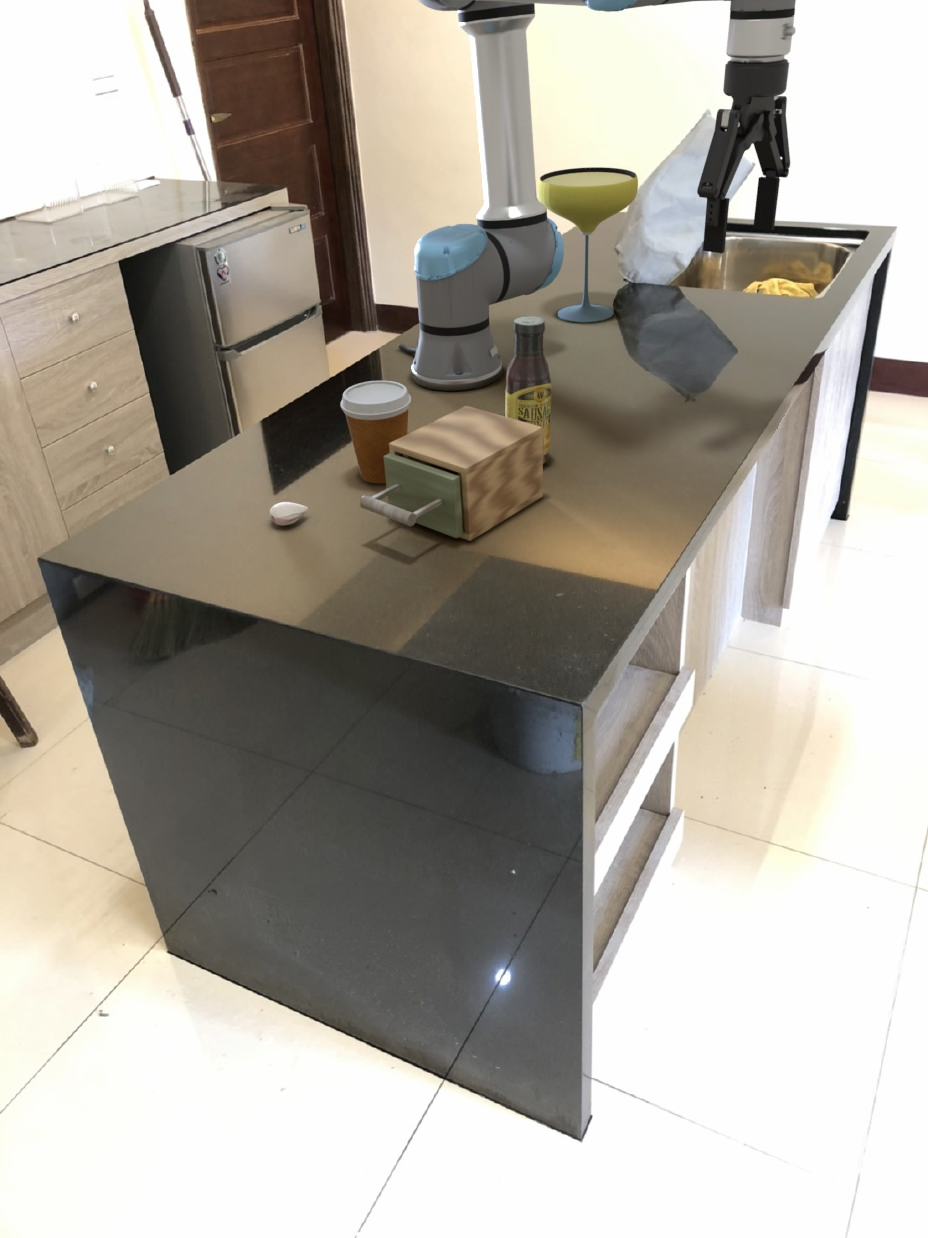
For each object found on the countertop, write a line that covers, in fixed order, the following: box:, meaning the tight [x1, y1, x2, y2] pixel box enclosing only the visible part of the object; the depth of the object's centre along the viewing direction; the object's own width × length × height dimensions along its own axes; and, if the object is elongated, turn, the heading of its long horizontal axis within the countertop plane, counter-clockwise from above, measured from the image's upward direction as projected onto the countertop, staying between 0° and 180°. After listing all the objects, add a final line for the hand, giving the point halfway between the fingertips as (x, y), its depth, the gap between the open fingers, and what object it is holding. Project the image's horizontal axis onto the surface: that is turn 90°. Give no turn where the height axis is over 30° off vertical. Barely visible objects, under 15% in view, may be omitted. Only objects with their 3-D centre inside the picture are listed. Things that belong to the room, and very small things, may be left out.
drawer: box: [359, 453, 464, 539], centre depth 126 cm, size 20×12×8 cm, turn 139°
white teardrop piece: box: [269, 501, 309, 526], centre depth 130 cm, size 4×5×2 cm
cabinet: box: [389, 405, 544, 542], centre depth 129 cm, size 15×13×10 cm
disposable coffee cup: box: [339, 380, 412, 484], centre depth 137 cm, size 10×10×12 cm
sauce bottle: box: [504, 315, 552, 465], centre depth 136 cm, size 6×6×20 cm
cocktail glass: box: [537, 166, 639, 324], centre depth 189 cm, size 18×18×25 cm
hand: (739, 240), depth 134 cm, fingers open, 13 cm apart
